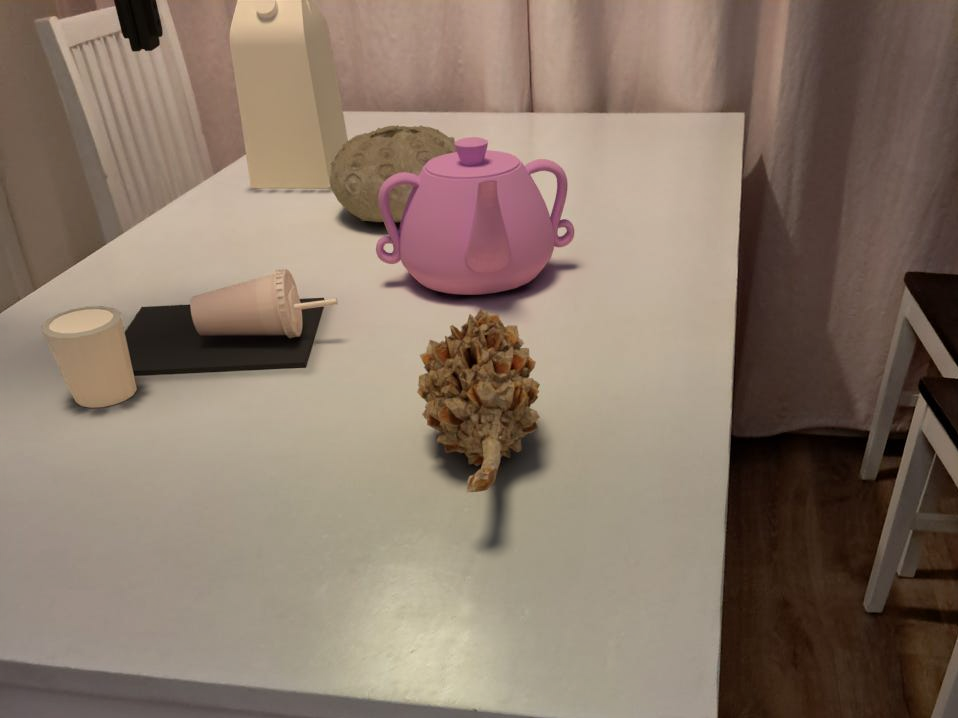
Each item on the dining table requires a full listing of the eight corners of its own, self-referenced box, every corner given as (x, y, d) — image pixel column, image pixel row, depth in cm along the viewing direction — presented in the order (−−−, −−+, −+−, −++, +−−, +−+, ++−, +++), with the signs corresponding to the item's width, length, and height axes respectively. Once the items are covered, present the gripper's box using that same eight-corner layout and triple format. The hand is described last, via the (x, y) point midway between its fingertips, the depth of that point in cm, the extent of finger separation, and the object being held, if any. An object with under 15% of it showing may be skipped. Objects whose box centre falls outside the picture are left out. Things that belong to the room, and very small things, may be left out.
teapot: (390, 334, 93) (373, 187, 84) (374, 259, 109) (359, 129, 100) (602, 310, 95) (609, 164, 86) (556, 240, 111) (557, 111, 102)
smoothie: (182, 316, 87) (328, 296, 85) (187, 266, 89) (328, 247, 88) (208, 363, 92) (344, 345, 91) (212, 315, 95) (345, 297, 94)
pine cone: (417, 408, 81) (406, 296, 74) (526, 398, 81) (524, 285, 75) (435, 557, 64) (423, 429, 58) (571, 543, 65) (574, 414, 58)
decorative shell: (324, 204, 126) (311, 122, 119) (448, 186, 130) (442, 105, 123) (351, 244, 113) (339, 155, 107) (488, 223, 117) (484, 136, 110)
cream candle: (147, 372, 89) (125, 300, 84) (139, 405, 84) (116, 331, 79) (73, 381, 88) (47, 309, 83) (62, 415, 83) (33, 340, 78)
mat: (98, 377, 89) (97, 372, 88) (142, 311, 100) (141, 306, 100) (305, 367, 88) (304, 362, 88) (325, 301, 100) (324, 297, 100)
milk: (352, 165, 140) (325, -47, 123) (330, 188, 132) (297, -36, 114) (277, 165, 142) (240, -44, 125) (250, 187, 134) (207, -33, 116)
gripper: (191, -255, 68) (242, 37, 81) (-7, -246, 69) (73, 44, 81) (165, -262, 63) (224, 53, 75) (-51, -252, 63) (43, 60, 75)
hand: (146, 47), depth 78 cm, fingers closed
